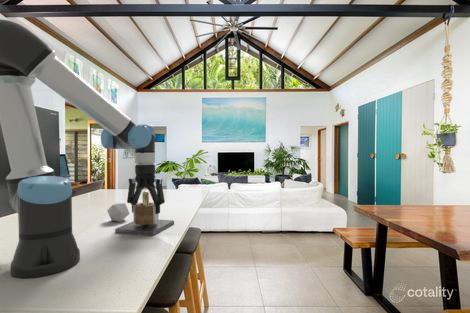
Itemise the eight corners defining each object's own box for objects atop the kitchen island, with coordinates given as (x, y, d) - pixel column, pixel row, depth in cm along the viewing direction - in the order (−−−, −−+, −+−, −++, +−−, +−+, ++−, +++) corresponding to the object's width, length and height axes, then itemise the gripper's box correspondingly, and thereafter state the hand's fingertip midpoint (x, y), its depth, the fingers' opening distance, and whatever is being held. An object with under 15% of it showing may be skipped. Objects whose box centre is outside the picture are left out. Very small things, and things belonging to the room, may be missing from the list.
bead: (149, 225, 101) (149, 206, 100) (130, 224, 103) (130, 205, 102) (160, 220, 108) (160, 202, 108) (142, 218, 110) (142, 202, 110)
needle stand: (153, 235, 96) (152, 194, 96) (115, 232, 100) (114, 193, 100) (174, 223, 111) (173, 188, 111) (140, 221, 115) (139, 188, 115)
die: (133, 220, 120) (129, 202, 124) (124, 215, 112) (121, 195, 117) (115, 228, 119) (112, 208, 124) (106, 223, 112) (102, 202, 116)
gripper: (173, 163, 106) (174, 220, 107) (128, 163, 111) (129, 217, 112) (164, 164, 99) (164, 225, 99) (116, 164, 104) (117, 222, 104)
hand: (146, 221), depth 106 cm, fingers closed on bead, 8 cm apart
